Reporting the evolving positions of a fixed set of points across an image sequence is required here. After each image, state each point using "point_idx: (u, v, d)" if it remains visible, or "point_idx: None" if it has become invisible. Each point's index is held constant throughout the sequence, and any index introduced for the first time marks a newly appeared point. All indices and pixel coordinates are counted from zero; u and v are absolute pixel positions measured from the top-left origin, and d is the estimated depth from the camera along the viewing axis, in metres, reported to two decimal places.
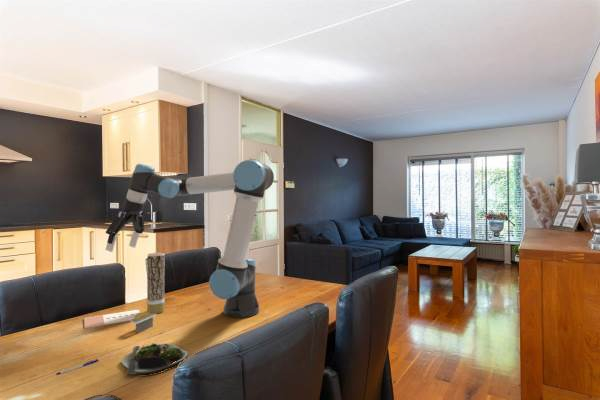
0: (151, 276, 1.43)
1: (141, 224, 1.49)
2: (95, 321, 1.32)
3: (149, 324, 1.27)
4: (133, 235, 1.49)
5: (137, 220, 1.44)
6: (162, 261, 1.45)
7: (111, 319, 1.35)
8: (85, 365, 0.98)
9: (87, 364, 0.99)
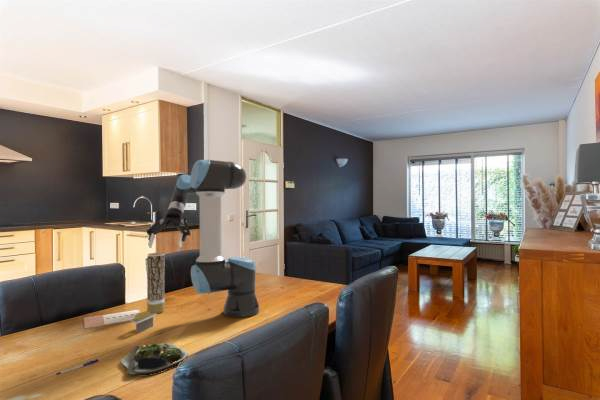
0: (151, 276, 1.43)
1: (185, 227, 1.64)
2: (95, 321, 1.32)
3: (149, 324, 1.28)
4: None
5: (176, 222, 1.64)
6: (162, 261, 1.45)
7: (111, 319, 1.35)
8: (85, 365, 0.98)
9: (87, 364, 0.99)
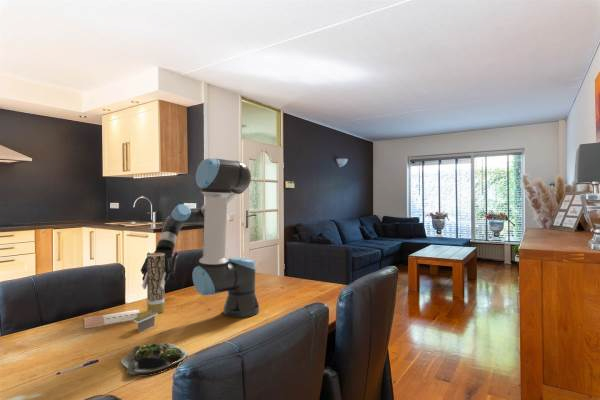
0: (151, 276, 1.43)
1: (172, 264, 1.50)
2: (95, 321, 1.32)
3: (151, 323, 1.29)
4: None
5: (165, 256, 1.51)
6: (162, 261, 1.45)
7: (111, 319, 1.35)
8: (85, 365, 0.98)
9: (87, 364, 0.99)
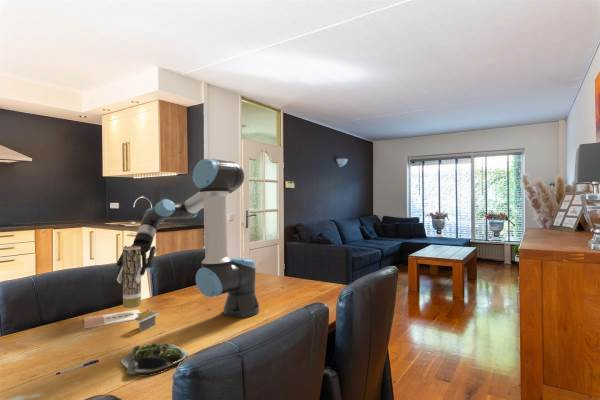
0: (126, 270, 1.39)
1: None
2: (95, 321, 1.32)
3: (152, 322, 1.29)
4: None
5: (142, 250, 1.48)
6: (138, 255, 1.41)
7: (111, 319, 1.35)
8: (85, 365, 0.98)
9: (87, 364, 0.98)
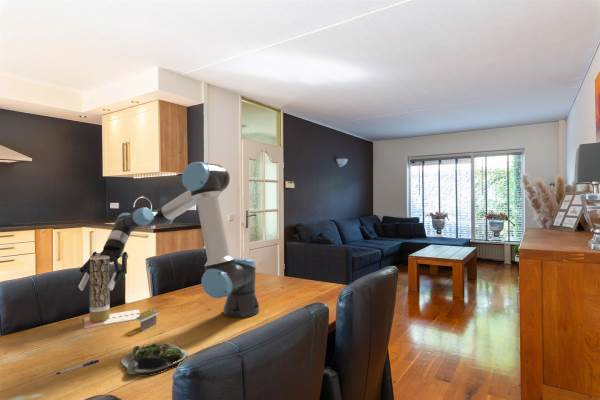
0: (93, 281, 1.31)
1: (122, 264, 1.39)
2: None
3: (153, 322, 1.30)
4: None
5: (113, 257, 1.40)
6: (106, 265, 1.33)
7: (111, 319, 1.35)
8: (85, 365, 0.98)
9: (87, 364, 0.98)
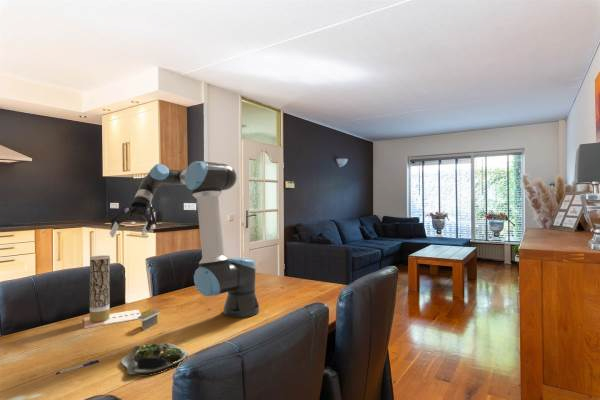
0: (93, 281, 1.31)
1: (151, 216, 1.55)
2: None
3: (154, 321, 1.31)
4: None
5: (141, 211, 1.56)
6: (106, 265, 1.33)
7: (111, 319, 1.35)
8: (85, 365, 0.98)
9: (87, 364, 0.98)
